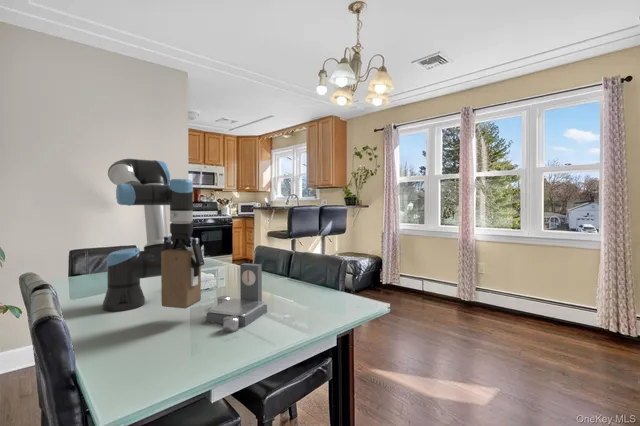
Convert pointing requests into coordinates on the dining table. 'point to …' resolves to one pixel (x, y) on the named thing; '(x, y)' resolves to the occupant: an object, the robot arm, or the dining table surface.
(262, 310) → the base
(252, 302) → the pan
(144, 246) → the robot arm
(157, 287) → the dining table surface
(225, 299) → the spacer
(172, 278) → the wooden block
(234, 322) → the cylinder
